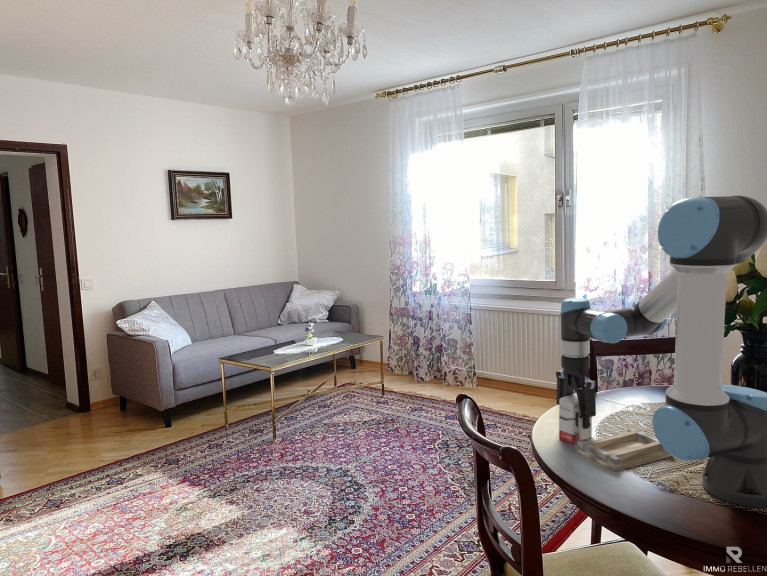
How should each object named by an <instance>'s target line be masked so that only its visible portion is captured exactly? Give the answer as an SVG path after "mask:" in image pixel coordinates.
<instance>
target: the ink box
mask: <svg viewBox="0 0 767 576" xmlns="http://www.w3.org/2000/svg"><path fill="white" fill-rule="evenodd" d="M558 407H559V408H558V409H559V412H558V414H559V415H558V417H559V420H558V421H559V424H558V439H559V440H562V441H564V442H568V443H570V444H571V445H572V444H576V443H577V441H579V416H581V413H580V408H579V401H578V398H577V393H576V392H575V393H573V394H572V395H568V396H565V397H562V398H560V399H559V405H558ZM585 413H586V412H585ZM592 419H593V417H590V427H589V428H588V439H590V438H591V437H592V436H593V435H592V431H593V427H592V426H593V425H592V422H593V421H592Z"/></svg>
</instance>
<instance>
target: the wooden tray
mask: <svg viewBox="0 0 767 576" xmlns="http://www.w3.org/2000/svg"><path fill="white" fill-rule="evenodd" d="M576 443H577V448H576V449H577V451H578V452H577V453H579V454H581V455H583V456H584V455H585V457H586V458H588V457H589V458H588V459H590V460H592V461H594V462H597V463H599V464H600V465H601V466H604V467H606V468H608V469H610V470H611V471H613V472H618V471H623V470H626V469H630V468H633V467H637V466H640V465H643V464H647V463H651V462H655V461H659V460H662V459H666V458H669V457H673V456H672V455H670V454H669V453H668V452H667V451H666V450H665V449H664V448H663V447H662V445H661V443H660V442H659V441H658V439H657V438H656V436H652V435H649V434H647V433H646V432H645V433H644V432H643V431H640V430H638V429H635V428H633V427H631V428H627V432H624V433H619V434H616V435H611V436H607V437H602V438H598V439H594V440H589V441H585V440H579V441H577V442H576Z"/></svg>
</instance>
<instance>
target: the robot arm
mask: <svg viewBox="0 0 767 576" xmlns="http://www.w3.org/2000/svg"><path fill="white" fill-rule="evenodd" d="M657 241H658V244H659V246H661V247H662V251H663V252H664V253H665V254H666V255H668V256H669V265H670V266H671V267H672V268H673V269H672V271H670V272H669V274H668V275H666V276H665V277H664V278H663V279H662V280H661V281H660V282H659V283H657V284H656V286H655V287H653V288H652V289H651V290H649V292H647V294H646V295H645V296H644V297H642V298H641V299H640V300H639V301H638V302H637V303H636V304H634V305H633V306H631V307H625V308H624V307H623V308H616V309H608V310H606V309H605V310H598V309H593V308H591V301H590V300H589V299H588V298H581V297H570V298H565V299H563V300H561V304H560V305H561V306H560V353H561V356H560V365H561V368H562V370H557V371H555V376H556V399H555V400H556V401H555V403H556V404H557V405H558V406H559V399H560V398H562V397H565V396H568V395H572V394H574V392H575V393H577V398H578V401H579V408H580V413H581V416H579V440H583V441H585V440H588V439H589V438H588V428H589V427H590V417H592V418H593V417H596V416H597V407H596V406H597V404H596V403H597V402H596V387H597V381H596V380H591V379H590V378H589V374H588V371H589V370H590V368H591V357H590V355H589V354H590V353H591V350H590V349H591V347H590V345H591V344H590V341H591V340H590V339H592V340H596V341H599V342H602V343H605V344H606V343H608V344H617V343H619V342H620V341H621V340H624V339H625V338H629V337H638V336H650V335H654V334H657V333H659V332H661V331H663V330H664V329H665V326H666V324H667V319H668V318H669V317H670V316H671V315H672V314H674V313H675V312H676V313H675V314H676V317H675V322H676V323H675V349H674V353H675V354H674V376H673V377H674V379H673V384H672V385H671V386H669V387H668V388H667V389H665V403H664V404H665V405H661V406H659V407H658V408H657V409H656V410H655V411H654V412H653V415H652V421H651V422H652V429H653V433H654V435H655V438H657V439H658V441H659V442H660V443H661V445H662V447H663V448H664V449H665V450H666V451H667V452H668V453H669V454H670V455H672V456H671V457H673V458H675V459H677V460H680V461H683V462H684V461H685V462H691V461H704V460H706V459H707V458H708V460H707V462H706V465H705V467H704V469H703V471H702V476H701V478H702V479H701V485H702V487H703V488H704V490H705V491H707V492H708V493H709V494H710V495H712V496H714V497H716V498H717V499H720V500H722V501H726V502H728V503H732V504H734V505H739V506H745V507H751V508H767V392H766V391H762V390H761V389H760V390H759V389H756V388H751V387H745V386H739V385H734V384H732V385H731V384H723V361H724V342H725V341H724V339H725V338H724V337H725V322H726V321H725V318H726V317H725V316H726V296H727V295H726V293H727V278H728V277H727V276H728V275H727V274H728V273H729V272H730V271H731V270H732V269H734V268H735V267H736V266H737V265H738V266H739V265H741V264H742V263H744V262H745V261H746V260H748V259H749V258H750V257H751V256H753V255H754V254H755V253H756V252H757V251H758V250H760V248H761V247H762V246H763V245H764V244H765V242H766V241H767V208H766V207H765V206H764V204H762V203H761V202H760V201H759V200H757V199H755V198H753V197H749V196H746V195H729V196H727V195H726V196H696V197H691V198H690V197H689V198H688V197H687V198H684V199H680V200H678V201H676V202H674V203H673V204H671V205H670V206H669V207H668V209H667V210H665V211H664V213H663V215H662V216H661V218H660V220H659V224H658V227H657ZM585 412H586V413H585Z"/></svg>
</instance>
